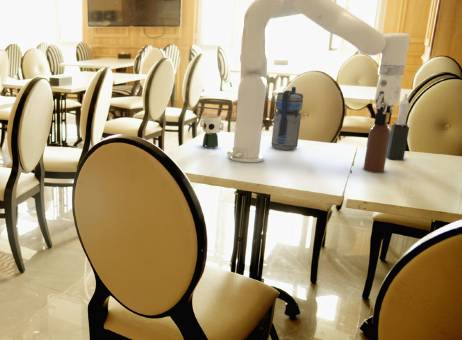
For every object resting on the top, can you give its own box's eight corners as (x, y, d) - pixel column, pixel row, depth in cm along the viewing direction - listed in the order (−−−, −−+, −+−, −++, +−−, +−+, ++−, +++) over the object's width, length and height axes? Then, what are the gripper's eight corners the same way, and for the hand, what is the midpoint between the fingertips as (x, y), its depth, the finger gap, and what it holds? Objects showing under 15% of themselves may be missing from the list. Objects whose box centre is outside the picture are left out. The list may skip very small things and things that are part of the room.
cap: (388, 121, 178) (390, 112, 177) (387, 123, 175) (389, 113, 174) (376, 120, 180) (377, 111, 179) (374, 121, 177) (376, 112, 176)
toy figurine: (194, 146, 215) (196, 115, 211) (203, 144, 220) (205, 113, 216) (217, 151, 207) (219, 119, 204) (226, 148, 212) (228, 117, 209)
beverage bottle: (265, 149, 211) (272, 88, 205) (275, 144, 222) (282, 85, 215) (291, 153, 205) (299, 90, 199) (300, 147, 216) (307, 87, 209)
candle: (389, 159, 198) (401, 94, 191) (385, 156, 202) (396, 92, 196) (404, 160, 196) (416, 95, 190) (399, 157, 201) (411, 93, 194)
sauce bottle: (382, 173, 178) (392, 116, 173) (362, 170, 181) (371, 114, 176) (384, 169, 183) (394, 114, 178) (364, 166, 186) (373, 112, 181)
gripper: (394, 72, 165) (384, 128, 170) (412, 70, 175) (402, 123, 180) (369, 71, 170) (360, 125, 175) (388, 68, 181) (379, 120, 186)
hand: (382, 123), depth 178 cm, fingers closed on cap, 3 cm apart
